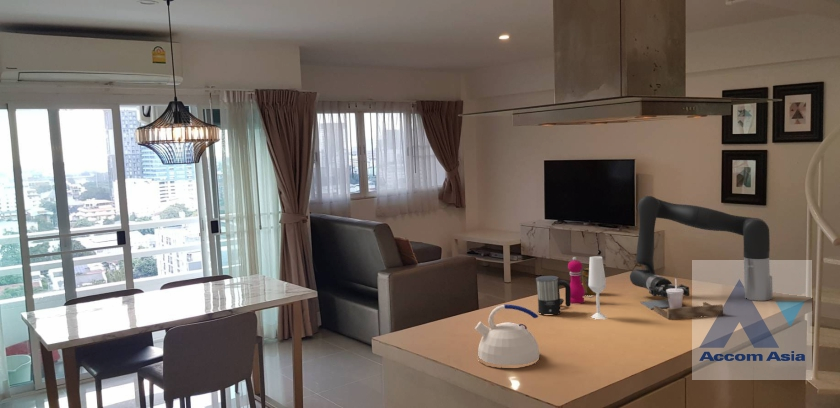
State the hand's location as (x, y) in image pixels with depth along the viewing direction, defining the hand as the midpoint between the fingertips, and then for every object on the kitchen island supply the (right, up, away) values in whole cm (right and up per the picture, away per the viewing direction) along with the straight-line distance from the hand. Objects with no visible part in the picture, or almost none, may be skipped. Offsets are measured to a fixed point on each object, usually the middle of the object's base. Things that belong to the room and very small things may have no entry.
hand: (677, 294), depth 230 cm
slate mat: (0, -7, +17) cm, 19 cm away
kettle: (-70, -16, -34) cm, 80 cm away
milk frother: (-44, -10, +21) cm, 50 cm away
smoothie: (+1, -8, +2) cm, 9 cm away
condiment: (-22, -7, +44) cm, 49 cm away
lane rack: (+5, -8, +3) cm, 10 cm away
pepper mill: (-30, -8, +32) cm, 45 cm away
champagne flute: (-29, -10, +6) cm, 31 cm away
